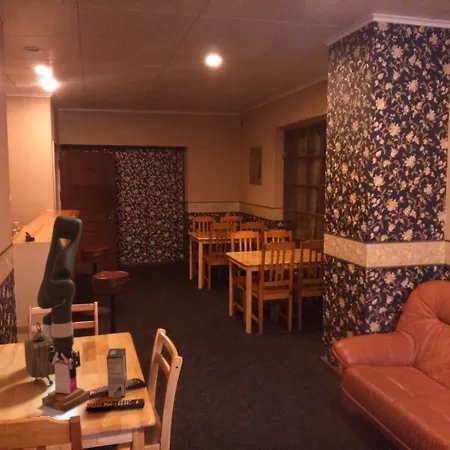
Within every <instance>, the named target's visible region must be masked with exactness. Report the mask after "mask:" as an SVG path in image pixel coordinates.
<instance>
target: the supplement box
mask: <svg viewBox="0 0 450 450" xmlns="http://www.w3.org/2000/svg"><path fill="white" fill-rule="evenodd" d="M69 360H71V358H70V359H69ZM71 364H72V362H71ZM54 365H55V374H54V385H55V386H54V390H55V394H63V395H69V394H70V393H72V392H73V391H74V390H76V389H77V387H78V385H77V384H78V383H77V382H78V381H77V376H76V377H75V378H73V379H71V378H70V367H69V365H68V364H66V362H65V361H63V360H60V361H59V362H57V363H55V364H54ZM72 365H73V364H72Z"/></svg>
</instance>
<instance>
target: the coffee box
mask: <svg viewBox="0 0 450 450" xmlns="http://www.w3.org/2000/svg"><path fill="white" fill-rule="evenodd" d="M126 351H127V350H126V347H124V348H119V347H118V348H116V347H115V348H109V349H108V353H107V356H106V367H107V369H106V370H107V388H108V389H107V391H108V392H107V393H108V398H109V397H112V398H122V397H121V396H125V397H126V393H127V390H126V387H127V388H128V373H127V372H128V371H127V352H126Z"/></svg>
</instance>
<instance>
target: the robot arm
mask: <svg viewBox="0 0 450 450" xmlns="http://www.w3.org/2000/svg"><path fill="white" fill-rule="evenodd" d="M52 226H53V227H52V232H51V233H52V234H51V240H50V246H49V251H48V253H47V254H48V255H47V258H46V262H45V268H44V273H43V277H42V280H41V284H40V286H39V290H38V292H37V296H36V299H37V306H38V308H39V309H41V310H48V309H51V311H50V312H48V313H47V314H45V315H44V316H43V317H42V331H43V332H42V333H43V334H45V336H49V337H50V338H51V340H52V345H53V346H50V347H48V361H49V362H51V363H52V364H53V371H54V374H53V375H55V365H54V364H55V363H57V362H59V361H60V360H63V361H65V362H66V364H68V365H69V367H70V378H71V379H73V378H75V377H76V378H77V368H79V367H81V355H80V354H81V353H80V351H79V350H74V348H73V346H74V344H75V340H74V326H73V325H74V324H73V318H72V316H73V315H72V306H73V300H74V297H75V293H76V285H75V282H74V281H73V280H72V279H71V278H72V276H73V272H74V271H73V270H74V263H75V257H76V254H77V251H78V248H79V244H80V241H81V236H82V232H83V221H82V219H80V218H76V217H71V216H66V215H58V216H56V218H55V220H54V222H53V225H52ZM61 239H63V240H68V241H70V242H69V243H68V244H67V246H65V247H64V245H63V244H62V240H61ZM51 356H52V358H51ZM69 359H70V360H69ZM71 362H72V364H73V365H72V364H71Z"/></svg>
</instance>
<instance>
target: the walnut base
mask: <svg viewBox="0 0 450 450" xmlns="http://www.w3.org/2000/svg"><path fill="white" fill-rule="evenodd" d="M90 395H91V393H90V391H86V390H84V388H82V387H78V386H77V389H76V390H74V391H73V392H72V393H70V394H69V395H63V394H55V389H54V390H52V391H50V392H48V393H47V395H45V396H44V397H42V398H41V404H42V406H45V407H49V408H52V409H55V410H59V411H61V412H64V413H67V412H68V411H70V410H72V409H74V408H75V407H77V406H79V405H80V404H82V403H84V402H86V401H88V400H90V399H89V396H90ZM90 397H91V396H90Z"/></svg>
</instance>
